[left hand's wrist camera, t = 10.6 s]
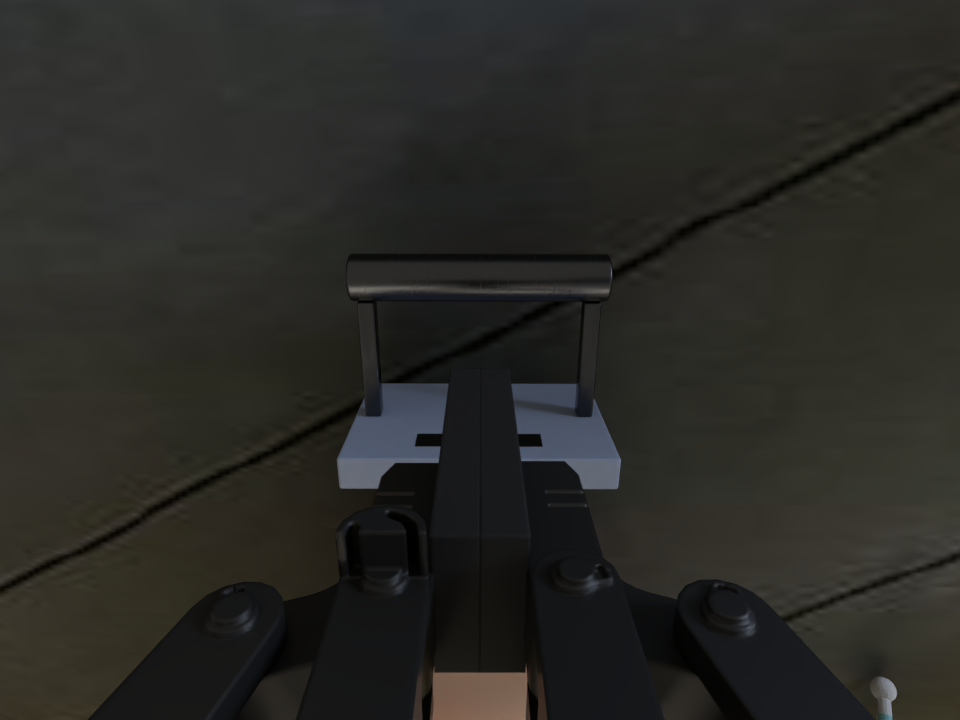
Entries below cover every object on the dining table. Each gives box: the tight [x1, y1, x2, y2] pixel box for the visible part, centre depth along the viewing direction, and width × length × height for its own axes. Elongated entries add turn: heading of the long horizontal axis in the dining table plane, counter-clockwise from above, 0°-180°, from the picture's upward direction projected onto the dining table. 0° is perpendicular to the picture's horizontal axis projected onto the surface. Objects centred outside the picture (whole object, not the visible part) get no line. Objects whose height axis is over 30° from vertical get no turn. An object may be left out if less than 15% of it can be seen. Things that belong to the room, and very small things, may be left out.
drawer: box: [337, 254, 621, 507], centre depth 23 cm, size 21×9×6 cm, turn 0°
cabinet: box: [433, 669, 527, 720], centre depth 28 cm, size 16×11×8 cm, turn 0°
